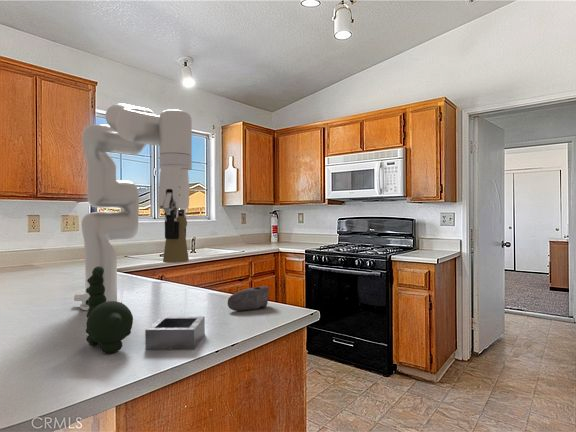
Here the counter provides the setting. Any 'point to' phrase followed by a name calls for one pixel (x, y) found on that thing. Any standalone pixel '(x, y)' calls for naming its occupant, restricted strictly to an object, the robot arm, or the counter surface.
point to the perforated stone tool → (249, 299)
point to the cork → (177, 245)
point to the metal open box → (175, 333)
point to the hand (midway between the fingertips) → (175, 237)
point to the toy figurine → (105, 316)
